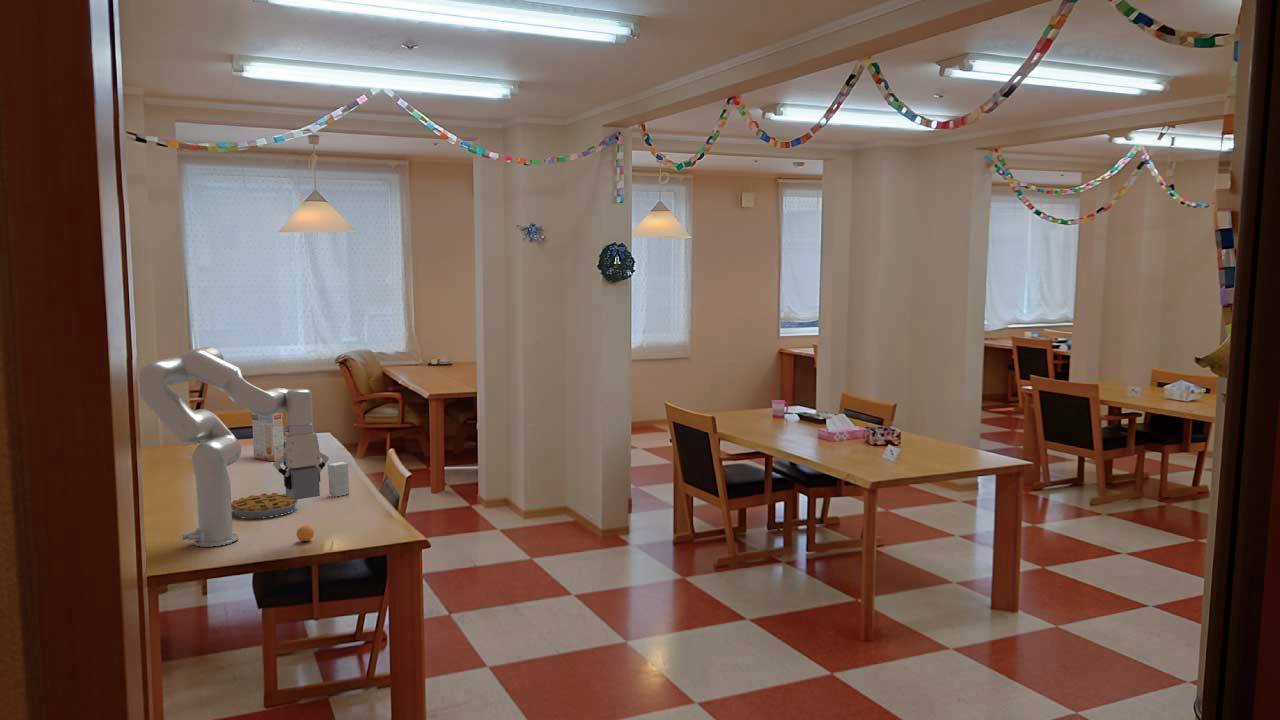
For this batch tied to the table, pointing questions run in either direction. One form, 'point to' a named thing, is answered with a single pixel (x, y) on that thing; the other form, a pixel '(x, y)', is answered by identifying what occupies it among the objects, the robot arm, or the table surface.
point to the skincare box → (338, 479)
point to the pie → (263, 505)
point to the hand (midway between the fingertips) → (302, 486)
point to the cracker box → (268, 436)
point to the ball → (305, 533)
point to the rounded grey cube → (304, 483)
